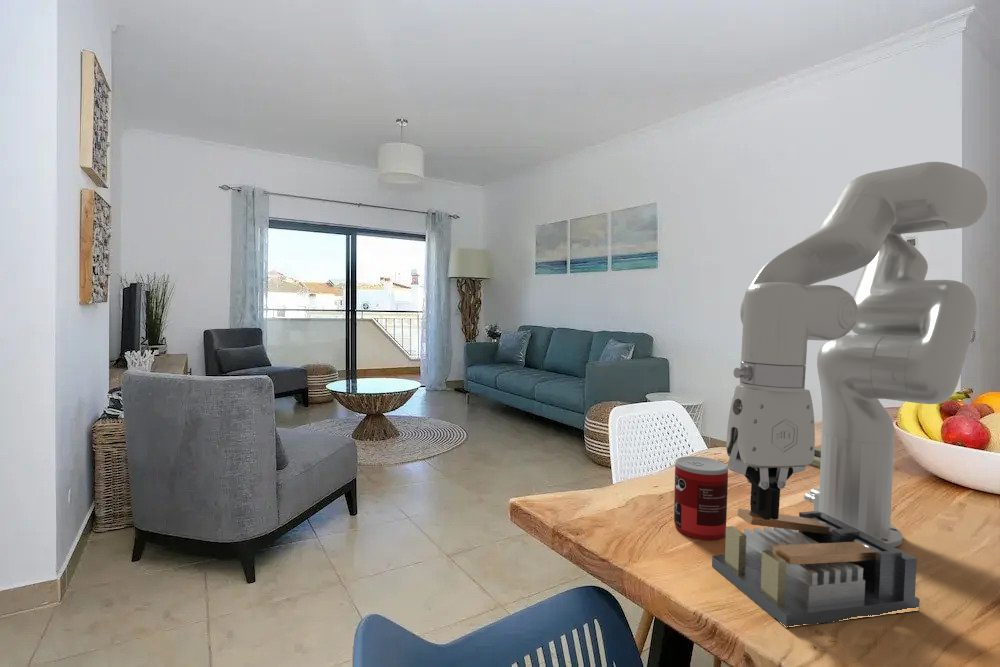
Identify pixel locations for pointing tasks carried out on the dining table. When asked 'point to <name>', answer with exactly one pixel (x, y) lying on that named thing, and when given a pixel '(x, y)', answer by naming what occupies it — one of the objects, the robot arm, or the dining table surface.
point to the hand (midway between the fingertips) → (764, 515)
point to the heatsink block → (817, 575)
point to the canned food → (700, 497)
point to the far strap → (787, 522)
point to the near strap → (826, 552)
